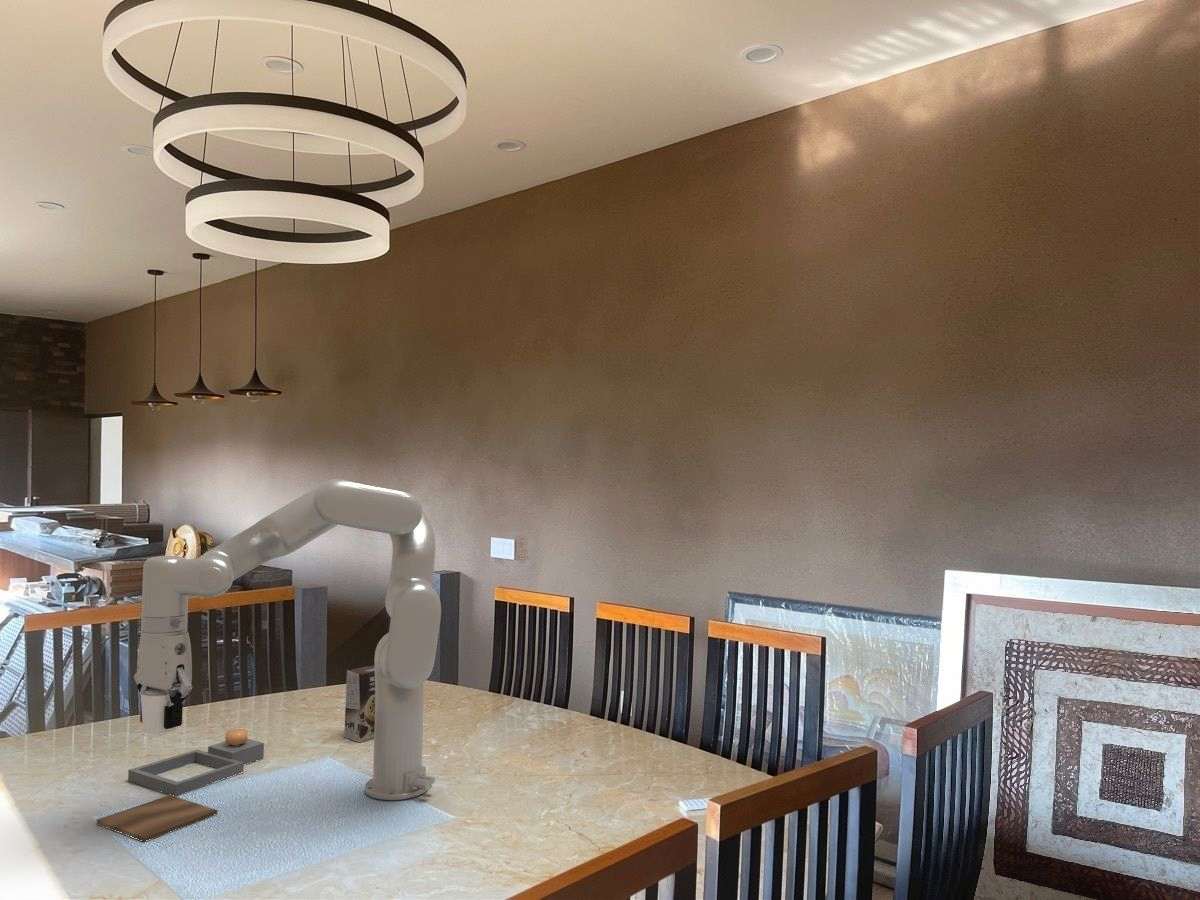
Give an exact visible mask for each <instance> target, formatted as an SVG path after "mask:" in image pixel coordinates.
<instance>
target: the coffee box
mask: <svg viewBox="0 0 1200 900" xmlns="http://www.w3.org/2000/svg"><path fill="white" fill-rule="evenodd" d="M345 686H346V688H345V708H344V709H345V712H344V735H343V736H344V739H348V740H350V741H353V742H356V741H357V743H363V742H366V741H367V742H368V741H371V740H374V728H375V667H374V664H373V665H367V666H365V667H363V666H362V667H357V668H353V669H348V670H347V669H346V684H345Z"/></svg>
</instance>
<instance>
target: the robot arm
mask: <svg viewBox="0 0 1200 900" xmlns="http://www.w3.org/2000/svg"><path fill="white" fill-rule="evenodd" d="M337 526H343V527H349V528H354V529H358V530H359V529H360V530H365V531H372V532H376V533H383V534H388V535H389V536H390V540H391V543H392V554H391V555H392V557H391V568H390V573H389V579H388V584H387V585H388V587H387V591H386V592H387V593H386V594H385V595H386V597H385V605H384V606H385V610H386V613H387V614H388V616H389V617H390V622H389V629H388V632H387V633H386V634H384V635H383V636H382V637H381V639H380V640H379V641H378V643H377V644H376V645H377V646H376V647H375V651H374V664H373V665H374V667H375V728H374V739H373V765H372V766H373V767H372V768H373V769H372V770H373V771H372V772H373V773H372V776H373V777H372V778H370V779H369V780H368V781H366V782H365V785H364V793H365V794H366V796H369V797H370V798H373V799H377V800H383V801H401V800H407V799H411V798H416V797H418V796H421V795H423V794H424V793H426V792H429V791H430V790H431V788H432V787H433V784H434V783H435V780H436V779H435V777H434V776H430V775H427V767H426V766H424V765H423V735H424V730H423V729H424V703H425V702H424V701H425V700H424V697H425V696H424V695H425V692H424V691H425V690H424V689H425V688H424V683H425V682H426V681H427V680H428V678H429V677H430V676H431V675H432V672H433V668H434V666H435V661H436V657H437V656H436V654H437V649H438V648H437V646H438V641H439V635H440V634H439V633H440V628H441V627H440V626H441V616H442V605H441V599H440V596H439V594H438V592H437V591H436V589H434V588H433V578H434V570H435V558H436V538H435V532H434V529H433V527H432V524H431V522H430V520H429V518H428V516H427V515H426V513H425V512H424V510H423V508H422V504H421V502H420V501H419V499H418V498H417V497H416V496H415V495H413V494H411V493H410V492H406V491H401V490H397V489H391V488H386V487H385V488H384V487H379V486H373V485H367V484H364V483H358V482H355V481H351V480H347V479H342V478H341V479H339V478H333V479H329V480H327V481H325V482H323V483H321V484H320V485H318V486H316V487H314V488H312V489H311V490H309V491H307V492H306V493H304V494H302V495H301V496H299V497H296V498H295V499H293V500H292V501H290V502H288V503H287V504H285V505H284V506H282V507H279V508H278V509H277V510H274V511H272V512H271V513H270V514H268V515H267V516H264V517H263V518H261V519H260V520H259V521H257V522H256V523H254V524H252V525H251V526H249V527H248V528H246V529H244V530H243V531H241V532H239V533H237V534H236V535H234V536H232V537H230V538H229V539H227V540H225V541H224V542H222V543H220V544H218V545H217V546H215V547H212V548H211V549H210V550H208V551H205V553H203V554H201V555H200V556H199V557H197V558H189V559H187V558H186V557H183V556H179V555H162V556H161V555H159V556H151V557H149V558H147V559H146V560H145V561H144V563H143V567H142V568H143V569H142V588H141V589H142V593H141V597H142V598H141V621H140V622H141V623H140V624H141V625H140V640H139V645H138V651H137V653H138V654H137V659H136V660H137V663H136V672H135V673H134V675H133V679H134V682H135V683H136V685H137V690H138V692H139V694H138V698H139V700H140V701H141V692H142V691H143V690H147V689H150V688H155V689H160V690H164V692H165V695H166V702H167V706H165V707H164V728H165V729H170V728H174V727H177V726H178V727H180V726H182V724H183V709H184V708H183V707H184V706H183V705H184V704H185V703H186V698H187V697H188V695H189V693H191V691H192V689H193V685H192V680H193V660H192V644H191V638H190V633H189V632H188V615H189V614H188V613H189V612H188V611H189V596H191V597H199V598H200V597H201V598H216V597H219V596H221V595H223V594H225V593H226V592H227V591H228V590H229V589H230V588H231V587H232V585H233V582H234V581H235V580H237V579H238V578H241V577H242V576H244V575H245V574H247V573H249V572H251V570H253V569H255V568H257V567H259V566H261V565H263V564H264V563H267V562H268V561H271V560H274V559H277V558H281V557H285V556H287V555H289V554H292V553H294V552H296V551H298V550H300V549H301V548H302V547H304V546H306V545H307V544H308V543H310V542H313V540H315V539H317V538H318V537H321V536H322V535H324V534H325V533H327V532H328V531H330V530H332V529H334V528H336V527H337ZM173 685H175V686H173ZM172 686H173V687H172ZM173 691H176V692H177V693H176V694H175V695H174V696H173V697H172V692H173ZM139 712H140V716H139V717H140V719H139V720H140V721H139V722H140V723H142V707H141V706H140V711H139Z"/></svg>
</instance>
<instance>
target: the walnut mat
mask: <svg viewBox="0 0 1200 900" xmlns="http://www.w3.org/2000/svg"><path fill="white" fill-rule="evenodd" d="M214 814H217V815H218V810H217V809H215V808H212V807H208V806H205V805H202V804H200V803H197V802H193V801H190V800H187V799H185V798H181V797H178V796H173V795H169V794H167V795H165V796H162V797H159V798H156V799H154V800H150V801H147V802H145V803H142V804H138V805H136V806H132V807H129V808H128V809H124V810H121V811H118V812H115V813H112V814H110V815H107V816H106V815H105V816H104V817H100V818H98V819H96V825H97V824H99V825H98V826H100V825H101V826H100V827H103V826H104V827H103V828H105V827H108V828H110V829H113V830H116V831H119V832H122V833H124V834H127V835H129V836H132V837H134V838H137V839H139V840H142V841H146V840H149V839H152V838H154V839H156V838H155V837H157V836H159V837H161V836H160V835H162V836H164V835H163V834H165V833H167V834H169V833H168V832H170V831H172V832H174V831H173V830H175V829H178V828H180V829H182V828H181V827H183V828H185V827H184V826H186V827H188V826H190V824H191V825H193V824H196V823H198V822H197V821H199V822H201V821H204V820H206V819H205V818H207V817H209V818H211V817H210V816H212V817H214V816H215V815H214ZM213 815H214V816H213ZM203 819H204V820H203ZM207 819H208V818H207ZM200 820H201V821H200ZM195 822H196V823H195ZM187 825H188V826H187ZM108 828H107V829H108ZM110 829H109V830H110ZM113 830H112V831H113ZM178 830H179V829H178ZM116 831H115V832H116ZM175 831H176V830H175ZM170 833H171V832H170ZM124 834H123V835H124ZM165 835H166V834H165ZM129 836H128V837H129ZM134 838H133V839H134ZM157 838H158V837H157ZM137 839H136V840H137ZM139 840H138V841H139ZM152 840H153V839H152ZM142 841H141V842H142ZM149 841H150V840H149ZM146 842H147V841H146Z"/></svg>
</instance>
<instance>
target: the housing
mask: <svg viewBox="0 0 1200 900" xmlns="http://www.w3.org/2000/svg"><path fill="white" fill-rule="evenodd" d="M264 746H265V743H264V742H262V741H257V740H254V739H249V738H247V742H245V743H242V744H240V746H237V747H233V746H232V745H231V744H226V743H225V740H224V741H221V742H218V743H215V744H211V745H208V746H207V751H205V750H201V749H197V748H196V749H194V750H191V751H187V752H184V753H180V754H176V755H173V756H171V757H167V758H163V759H161V760H157V761H153V762H150V763H146V764H144V765H141V766H138V767H134V768H131V769H127V771H128V774H127V775H128V776H127V782H130V781H131V783H133V782H135V783H134V784H136V783H137V784H136V785H139V784H140V786H142V787H145V788H148V789H152V790H154V789H155V790H154V791H157V790H158V792H160V791H162V792H161V793H163V792H165V793H164V794H166V793H168V794H167V795H169V794H171V795H174V796H176V795H178V796H180V795H179V794H181V795H183V794H182V793H184V794H186V793H185V792H187V793H189V792H188V791H190V792H192V791H195V790H197V789H196V788H198V789H201V788H203V787H202V786H204V787H206V786H205V785H207V784H210V783H212V782H215V781H218V780H221V779H223V778H227V777H230V776H233V775H235V774H239V773H241V772H243V773H244V770H245V768H244V767H245V765H244V764H247V763H250V762H253V763H255V762H254V761H256V760H259V761H261V760H260V759H262V760H264V759H263V758H264V757H265V756H264V754H265V753H264V751H265V747H264ZM193 762H194V763H197V762H198V763H197V764H200V763H201V765H204V764H206V765H205V766H207V765H209V766H208V767H210V766H213V767H212V768H214V767H217V768H218V769H217V768H215V769H212V770H209V771H206V772H203V773H200V774H197V775H194V776H192V777H188V778H186V779H182V780H179V781H175V780H173V779H169V778H166V777H164V776H161V775H159V774H162V773H165V772H168V770H169V771H172V770H175V769H177V767H178V768H182V767H184V766H187V765H186V764H188V765H190V764H189V763H191V764H194V763H193ZM256 762H257V761H256ZM250 764H251V763H250ZM247 765H248V764H247ZM174 768H175V769H174ZM171 769H172V770H171ZM164 771H165V772H164ZM161 772H162V773H161ZM158 773H159V774H158ZM155 774H156V775H155ZM239 775H240V774H239ZM233 777H234V776H233ZM230 778H231V777H230ZM227 779H228V778H227ZM221 781H222V780H221ZM210 785H211V784H210ZM207 786H208V785H207ZM200 787H201V788H200ZM194 789H195V790H194ZM191 790H192V791H191ZM176 797H177V796H176Z"/></svg>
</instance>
